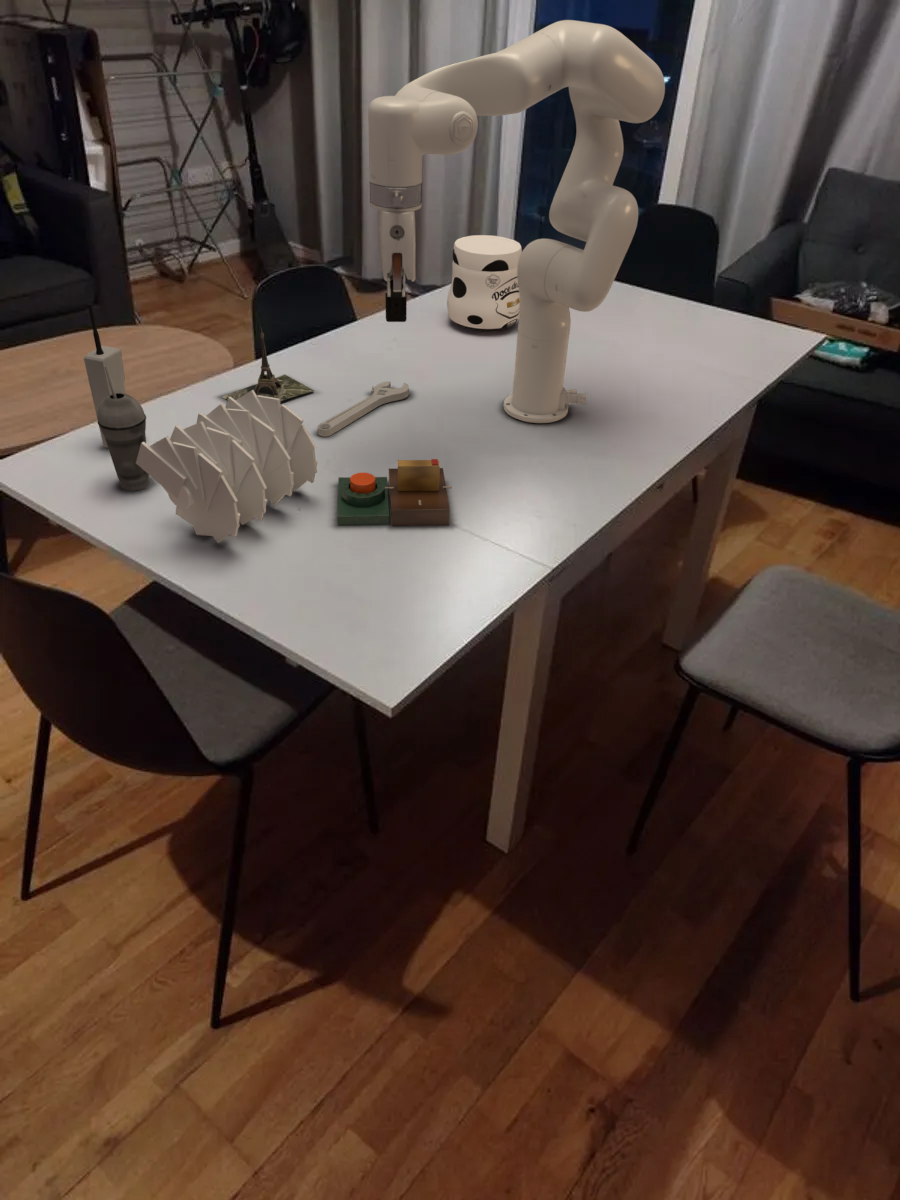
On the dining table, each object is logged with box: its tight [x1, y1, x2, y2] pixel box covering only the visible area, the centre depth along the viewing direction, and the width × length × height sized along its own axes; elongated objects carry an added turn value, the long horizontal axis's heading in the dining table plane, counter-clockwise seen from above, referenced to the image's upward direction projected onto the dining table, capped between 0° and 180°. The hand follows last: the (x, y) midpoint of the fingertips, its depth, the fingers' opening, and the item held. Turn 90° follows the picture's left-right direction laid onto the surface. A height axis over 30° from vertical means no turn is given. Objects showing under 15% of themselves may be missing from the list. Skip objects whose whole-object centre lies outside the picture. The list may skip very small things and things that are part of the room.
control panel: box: [385, 467, 453, 527], centre depth 142 cm, size 13×11×3 cm
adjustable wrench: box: [317, 380, 410, 438], centre depth 168 cm, size 25×6×2 cm, turn 142°
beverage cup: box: [97, 365, 150, 492], centre depth 138 cm, size 7×7×20 cm
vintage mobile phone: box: [83, 302, 127, 449], centre depth 147 cm, size 4×5×25 cm
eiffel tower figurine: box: [221, 326, 315, 402], centre depth 169 cm, size 15×10×13 cm
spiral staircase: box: [136, 390, 319, 544], centre depth 134 cm, size 18×18×25 cm
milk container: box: [446, 234, 523, 332], centre depth 202 cm, size 17×17×18 cm
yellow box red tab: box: [397, 458, 441, 491], centre depth 139 cm, size 6×2×5 cm, turn 95°
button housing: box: [336, 476, 390, 526], centre depth 141 cm, size 12×8×4 cm, turn 5°
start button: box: [349, 472, 376, 494], centre depth 140 cm, size 4×4×2 cm
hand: (396, 319), depth 139 cm, fingers closed
